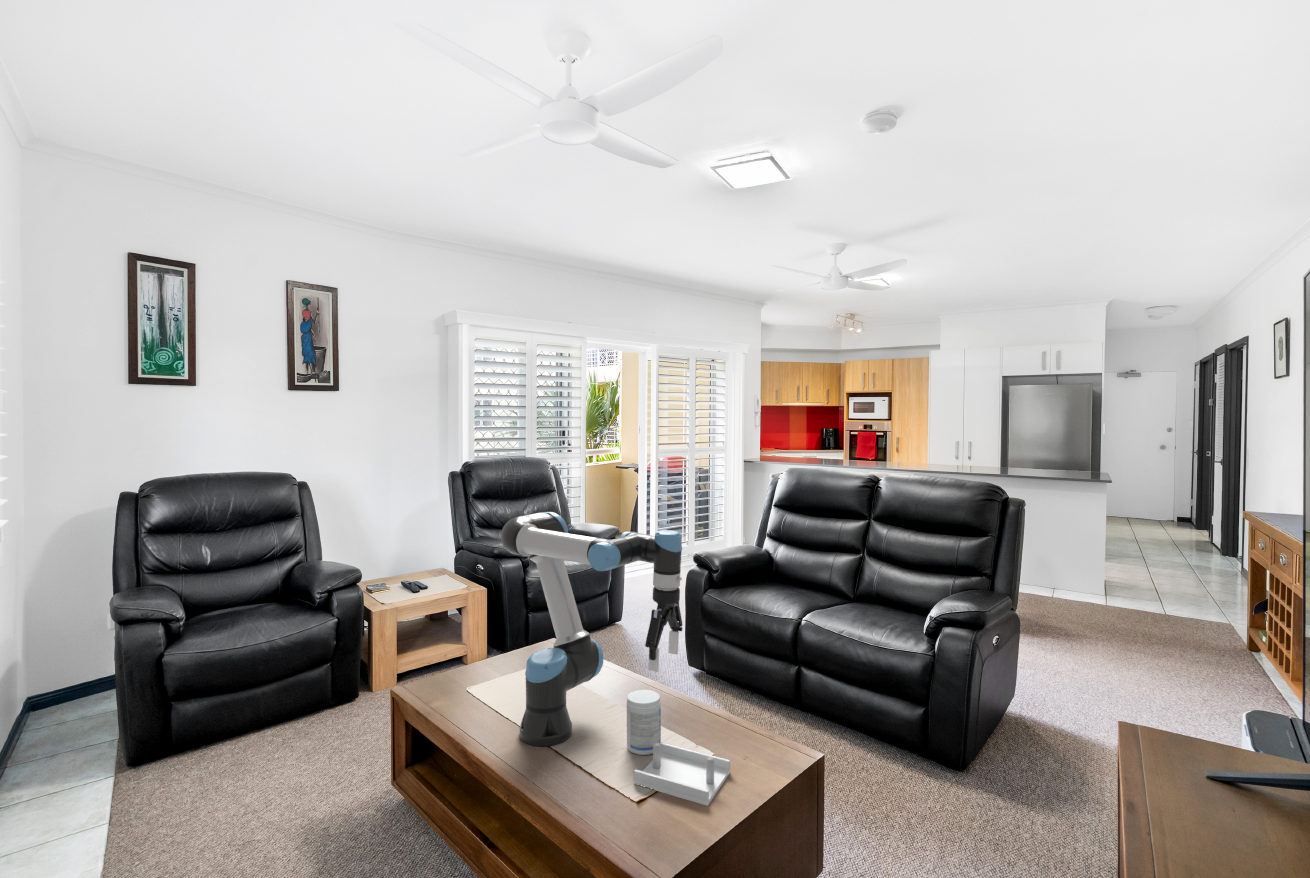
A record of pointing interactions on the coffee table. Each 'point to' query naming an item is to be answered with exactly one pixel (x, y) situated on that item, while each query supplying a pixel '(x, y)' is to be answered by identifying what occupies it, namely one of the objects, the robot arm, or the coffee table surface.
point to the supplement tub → (643, 721)
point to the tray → (684, 773)
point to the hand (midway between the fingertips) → (663, 661)
